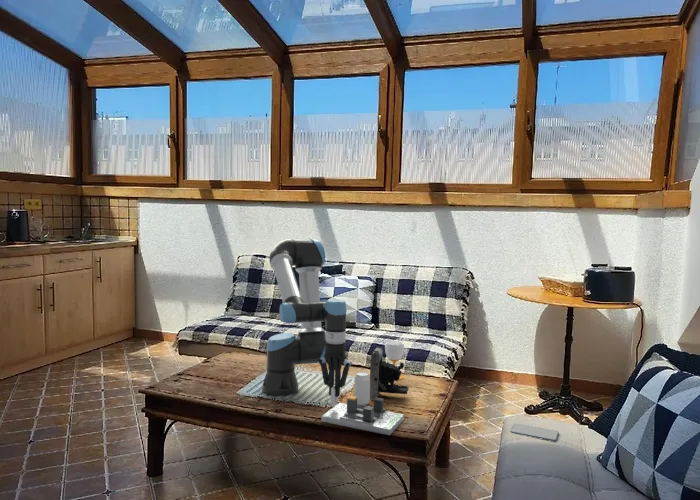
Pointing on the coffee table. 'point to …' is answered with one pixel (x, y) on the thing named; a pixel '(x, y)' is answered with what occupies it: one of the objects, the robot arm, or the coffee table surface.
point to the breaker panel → (361, 426)
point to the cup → (394, 351)
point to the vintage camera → (384, 376)
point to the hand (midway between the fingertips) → (334, 404)
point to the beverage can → (362, 388)
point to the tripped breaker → (352, 404)
